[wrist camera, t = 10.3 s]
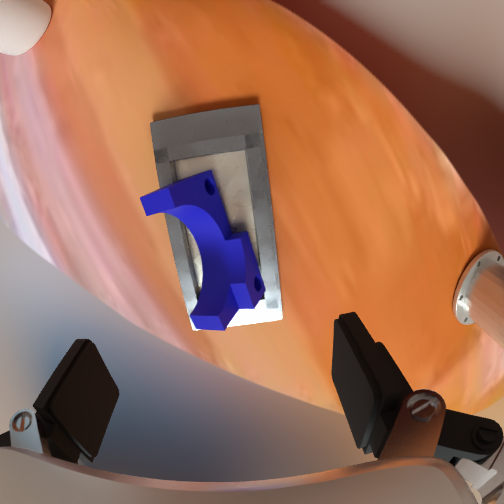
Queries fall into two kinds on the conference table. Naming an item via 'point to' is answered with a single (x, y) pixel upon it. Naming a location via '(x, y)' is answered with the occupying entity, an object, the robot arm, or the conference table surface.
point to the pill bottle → (22, 24)
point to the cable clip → (212, 249)
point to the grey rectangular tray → (222, 194)
